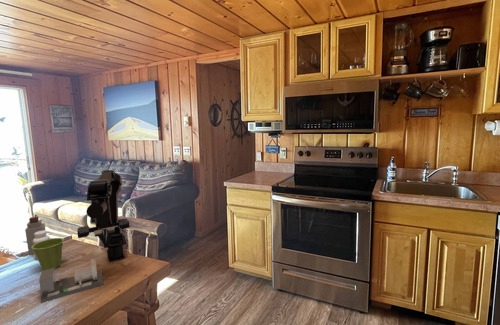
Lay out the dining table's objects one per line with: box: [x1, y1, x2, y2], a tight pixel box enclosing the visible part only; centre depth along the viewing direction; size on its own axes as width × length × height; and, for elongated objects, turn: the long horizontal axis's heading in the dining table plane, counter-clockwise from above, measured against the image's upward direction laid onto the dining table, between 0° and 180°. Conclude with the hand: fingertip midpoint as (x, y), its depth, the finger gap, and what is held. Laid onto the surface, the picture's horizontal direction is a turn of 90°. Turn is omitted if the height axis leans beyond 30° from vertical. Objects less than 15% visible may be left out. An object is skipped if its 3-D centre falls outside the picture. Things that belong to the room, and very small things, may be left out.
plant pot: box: [32, 237, 65, 271], centre depth 126 cm, size 12×12×11 cm
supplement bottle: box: [33, 231, 51, 261], centre depth 136 cm, size 7×7×13 cm
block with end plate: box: [73, 258, 98, 285], centre depth 112 cm, size 8×10×6 cm
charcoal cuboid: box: [59, 283, 63, 292], centre depth 104 cm, size 1×2×2 cm, turn 31°
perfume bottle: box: [24, 216, 47, 257], centre depth 143 cm, size 7×7×18 cm
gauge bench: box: [38, 268, 104, 304], centre depth 110 cm, size 20×12×7 cm, turn 121°
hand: (106, 247), depth 117 cm, fingers closed
